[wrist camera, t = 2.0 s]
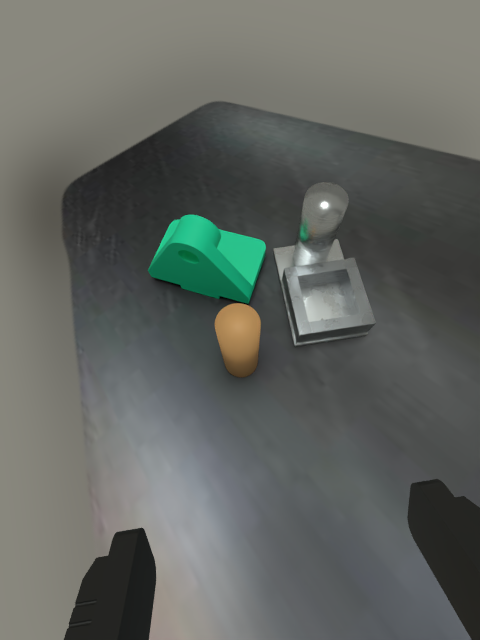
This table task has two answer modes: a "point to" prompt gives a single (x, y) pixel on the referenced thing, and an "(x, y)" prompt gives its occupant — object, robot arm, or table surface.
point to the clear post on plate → (322, 274)
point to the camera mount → (208, 259)
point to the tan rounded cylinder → (239, 338)
